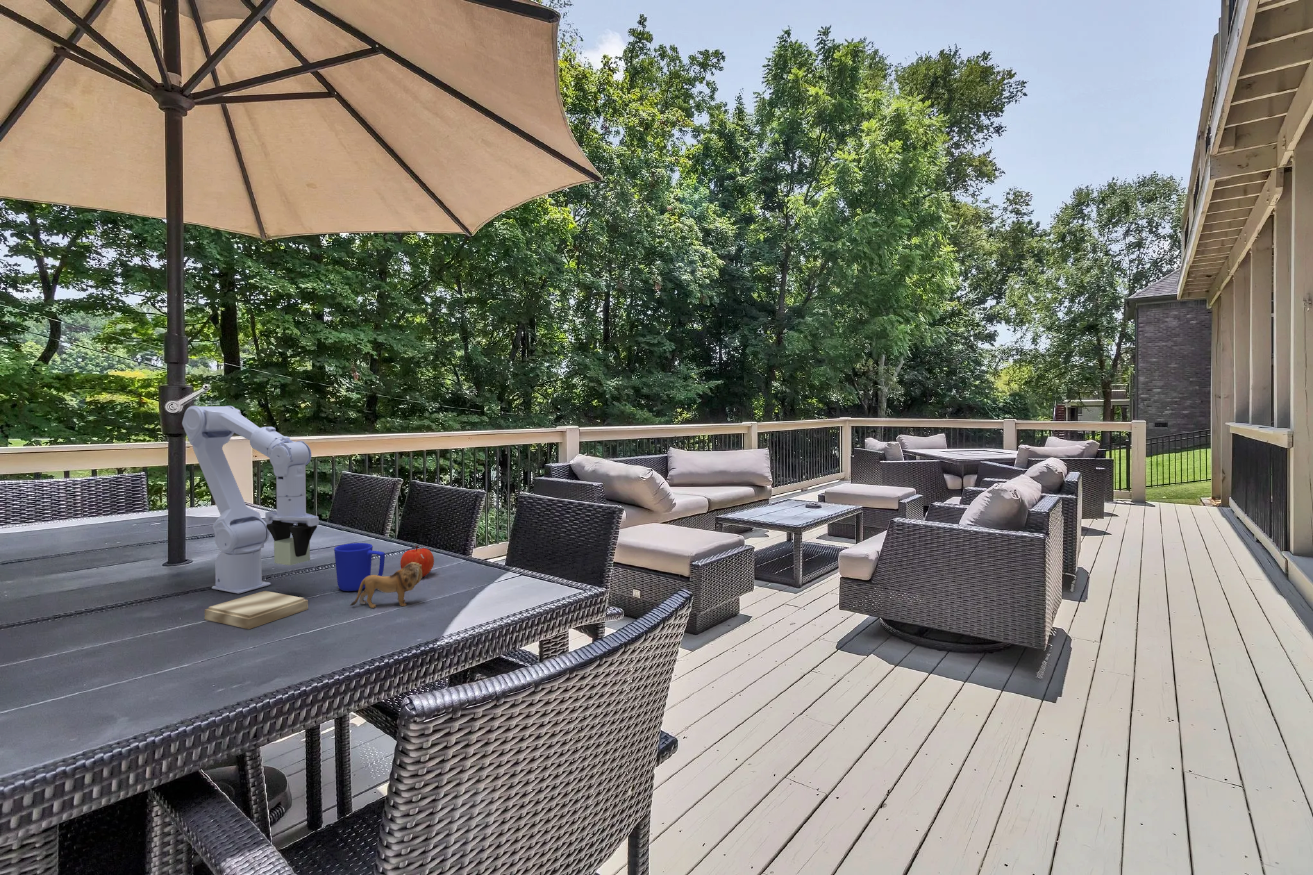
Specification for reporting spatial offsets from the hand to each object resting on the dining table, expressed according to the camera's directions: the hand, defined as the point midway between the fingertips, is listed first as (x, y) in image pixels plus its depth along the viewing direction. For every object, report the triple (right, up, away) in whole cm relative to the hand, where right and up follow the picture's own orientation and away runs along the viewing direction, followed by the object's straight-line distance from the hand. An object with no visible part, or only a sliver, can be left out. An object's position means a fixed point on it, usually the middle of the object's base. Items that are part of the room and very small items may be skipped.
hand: (292, 554), depth 144 cm
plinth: (0, -10, -12) cm, 16 cm away
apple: (+22, -9, +18) cm, 29 cm away
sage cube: (0, -2, 0) cm, 2 cm away
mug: (+13, -10, +6) cm, 17 cm away
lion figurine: (+24, -10, -4) cm, 26 cm away
